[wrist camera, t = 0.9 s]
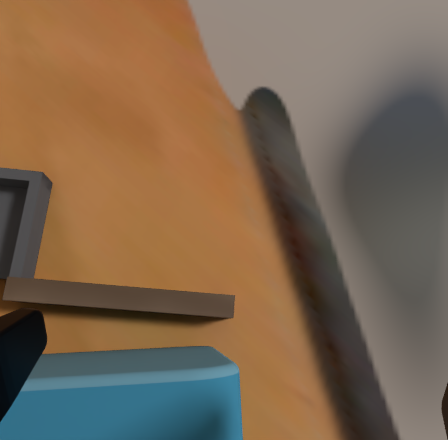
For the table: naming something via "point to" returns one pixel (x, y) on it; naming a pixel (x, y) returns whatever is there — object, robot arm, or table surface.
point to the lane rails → (118, 297)
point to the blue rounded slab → (129, 397)
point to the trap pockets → (21, 220)
